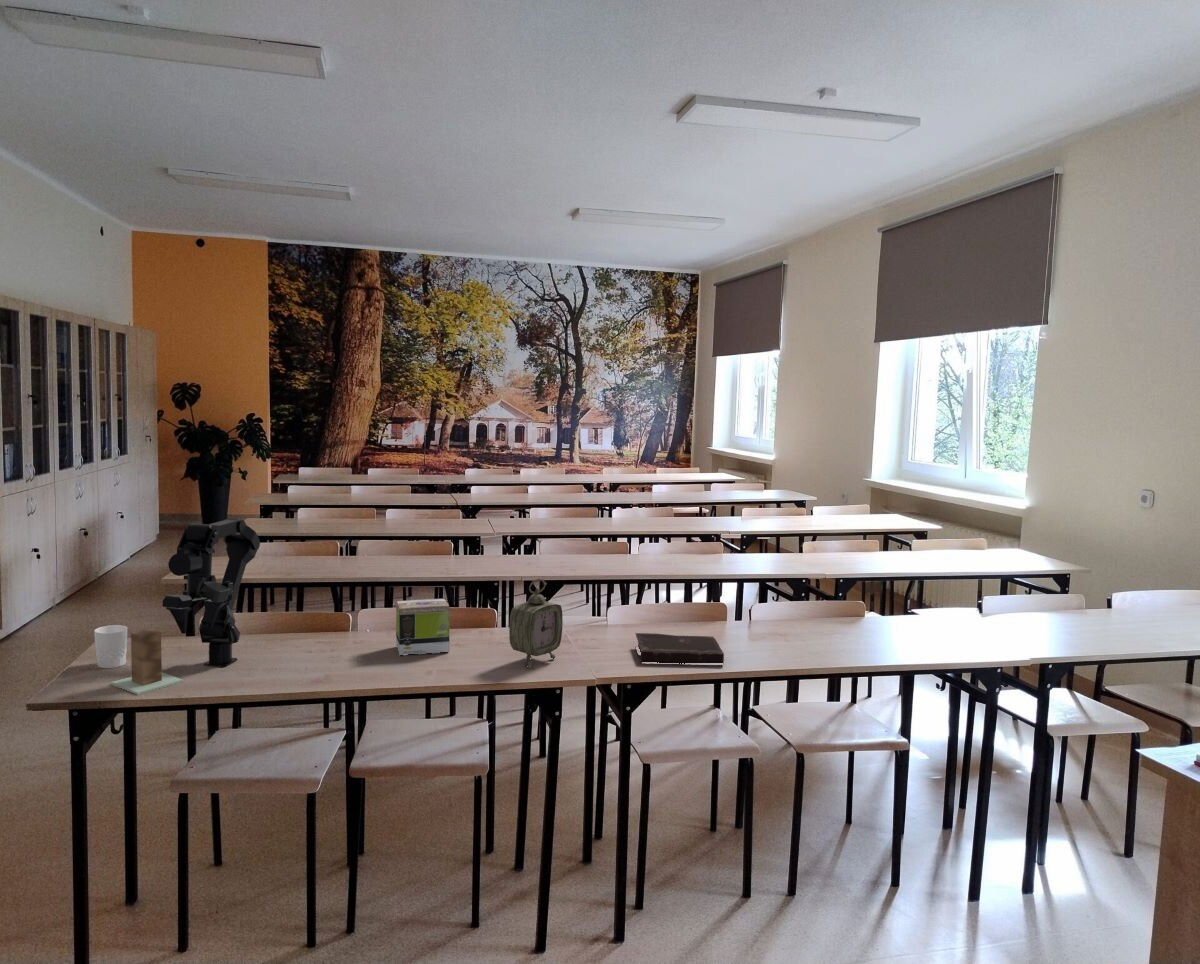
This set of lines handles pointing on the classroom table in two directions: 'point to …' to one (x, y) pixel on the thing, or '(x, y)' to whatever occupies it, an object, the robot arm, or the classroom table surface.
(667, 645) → the diary
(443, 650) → the tea box
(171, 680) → the green mat
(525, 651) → the tabletop clock
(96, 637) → the white cup
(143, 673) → the walnut block
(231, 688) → the classroom table surface
